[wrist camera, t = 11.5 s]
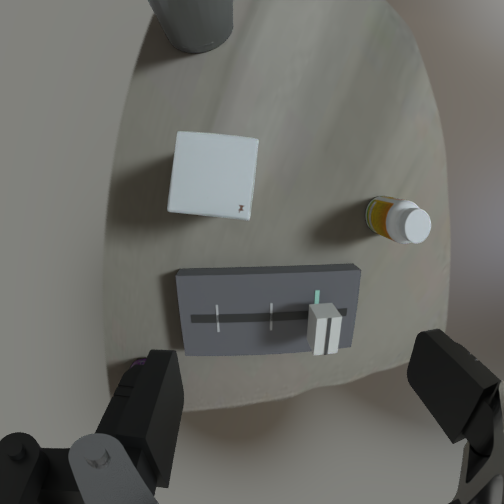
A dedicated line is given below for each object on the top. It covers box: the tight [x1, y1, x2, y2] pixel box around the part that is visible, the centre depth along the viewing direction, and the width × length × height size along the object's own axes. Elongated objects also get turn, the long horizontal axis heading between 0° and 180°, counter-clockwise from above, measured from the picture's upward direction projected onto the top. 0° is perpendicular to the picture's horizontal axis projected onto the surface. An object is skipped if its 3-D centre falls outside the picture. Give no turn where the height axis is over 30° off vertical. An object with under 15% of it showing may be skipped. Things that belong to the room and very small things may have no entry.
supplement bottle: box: [365, 196, 431, 244], centre depth 33 cm, size 5×5×10 cm
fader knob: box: [307, 303, 342, 355], centre depth 35 cm, size 5×3×6 cm, turn 1°
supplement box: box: [167, 131, 259, 221], centre depth 30 cm, size 7×7×13 cm
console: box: [176, 264, 361, 356], centre depth 39 cm, size 12×24×3 cm, turn 91°
